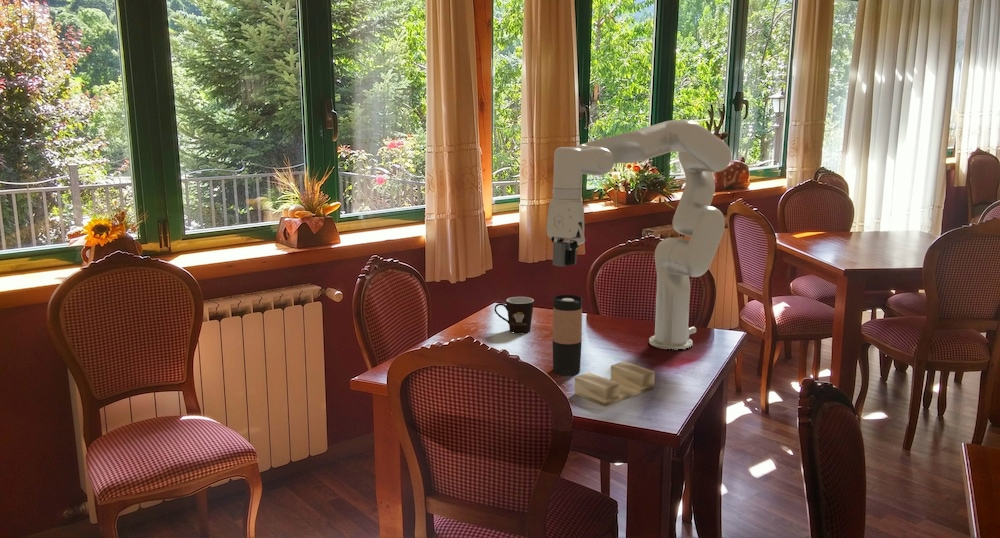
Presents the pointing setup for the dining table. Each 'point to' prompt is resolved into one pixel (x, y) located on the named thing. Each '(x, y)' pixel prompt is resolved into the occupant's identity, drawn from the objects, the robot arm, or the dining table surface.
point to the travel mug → (567, 334)
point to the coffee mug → (518, 313)
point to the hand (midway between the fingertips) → (564, 262)
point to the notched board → (615, 383)
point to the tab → (561, 253)
